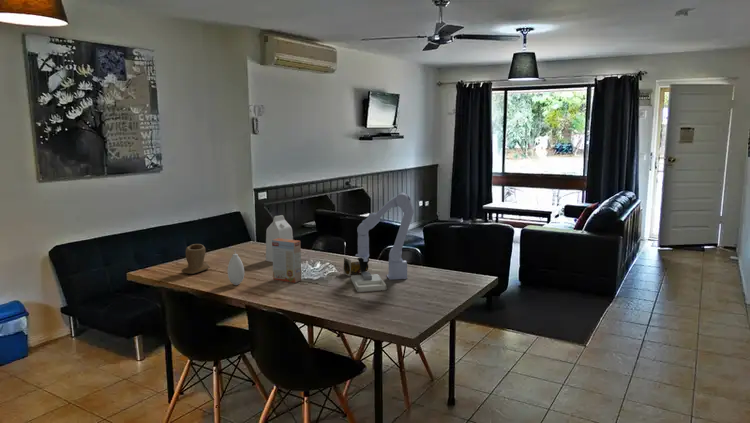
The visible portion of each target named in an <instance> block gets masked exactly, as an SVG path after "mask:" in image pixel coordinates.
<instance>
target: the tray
mask: <svg viewBox="0 0 750 423" xmlns="http://www.w3.org/2000/svg"><path fill="white" fill-rule="evenodd" d="M353 286H354V288H355V290H356V292H357V293H361V292H362V293H363V292H364V293H365V292H376V291H377V292H379V291H381V290H382V291H387V284H386V282H385V281H384V280H383V279H382V280H381V284H366V285H357V283H356V281H354V284H353Z"/></svg>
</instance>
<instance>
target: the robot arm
mask: <svg viewBox="0 0 750 423" xmlns="http://www.w3.org/2000/svg"><path fill="white" fill-rule="evenodd" d="M397 207H399V208H400V209H401V210H402V212H403V215H402V216H403V217H402V219H401V221H400V222H401V223H400V225H399V229H398V231H397V234H396V238H395V240H394V244H393V246H392V247H391V248H390V250H389V253H388V274H386V277H387V278H388V280H389V281H391V280H392V281H393V280H407V279H408V263H407V260H405V259H404V260H403V258H402V253H403V250H402V249H403V247H404V243H405V240H406V237H407V234H408V231H409V228H410V225H411V222H412V218H413V216H414V208H413V202H412V200H411V197H410V196H409V195H408V193H406V192H404V191H400V192H399V193H397V195H395V196H393V197H391V199H389V200H388V201H387V202H386V203H385V204H384V205H383V206H382V207H381V208H380V209H379V210H378V211H377V212H372V213H369V214H368V216H367V217H366V218H365V219H363V220H362V221H361V223H359V225H358V226H357V228H356V229H357V230H356V231H357V253H356V254H355V257H357V260H358V261H357V262H359V263H360V268H361V272H367V271H366V268H367V264H368V265H369V262H370V258H369V257H370V236H369V231H370V230H372V229H374V228H375V226H377V224H379V222H381V217H383V215H385V214H386V213H387V212H388V211H389V210H391V209H393V208H397Z"/></svg>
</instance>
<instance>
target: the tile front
mask: <svg viewBox="0 0 750 423" xmlns="http://www.w3.org/2000/svg"><path fill="white" fill-rule="evenodd" d="M371 275H372V273H370V274H363V280H372V276H371Z"/></svg>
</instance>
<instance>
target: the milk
mask: <svg viewBox="0 0 750 423" xmlns="http://www.w3.org/2000/svg"><path fill="white" fill-rule="evenodd" d="M272 220H273V221H272V222H271V223H270V225H269V226H268V227H267V228H266V233H265V261H266V262H271V263H273V253H272V240H274V239H277V238H282V239H290V240H294V236H293V235H294V234H293V228H292V226H291V225H290V223H288V221H287V220H286V219H285V216H284V215H283V214H281V215H275V216H273V219H272Z"/></svg>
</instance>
